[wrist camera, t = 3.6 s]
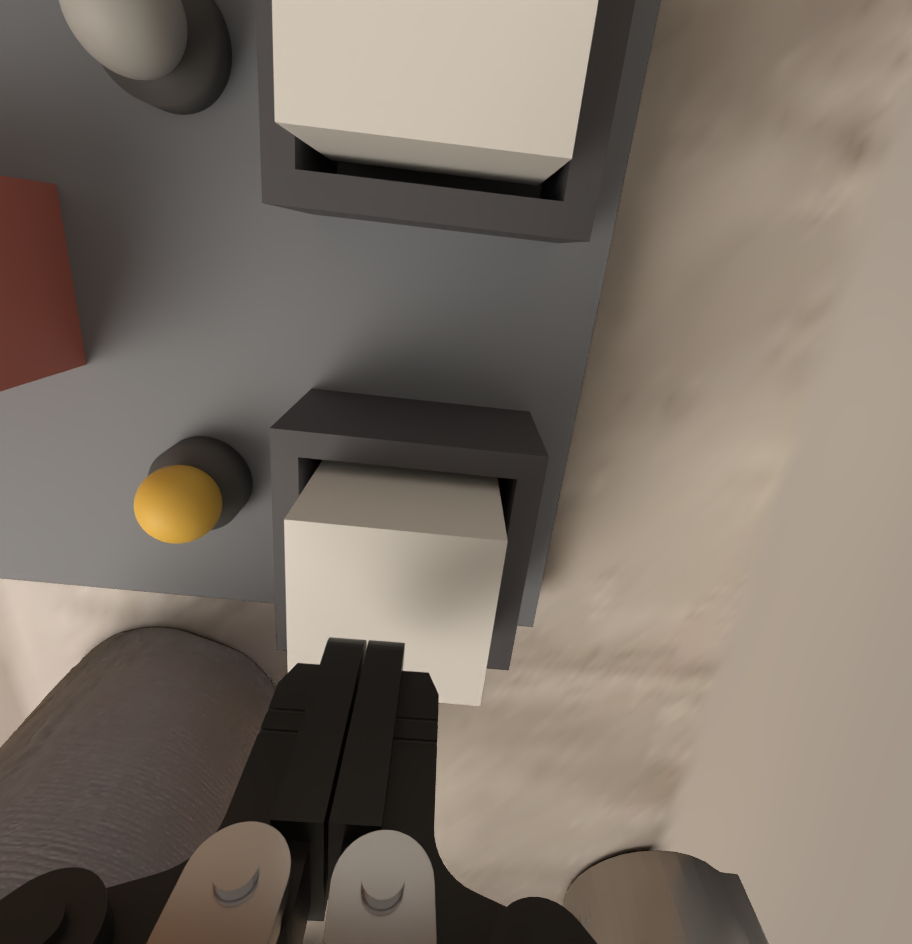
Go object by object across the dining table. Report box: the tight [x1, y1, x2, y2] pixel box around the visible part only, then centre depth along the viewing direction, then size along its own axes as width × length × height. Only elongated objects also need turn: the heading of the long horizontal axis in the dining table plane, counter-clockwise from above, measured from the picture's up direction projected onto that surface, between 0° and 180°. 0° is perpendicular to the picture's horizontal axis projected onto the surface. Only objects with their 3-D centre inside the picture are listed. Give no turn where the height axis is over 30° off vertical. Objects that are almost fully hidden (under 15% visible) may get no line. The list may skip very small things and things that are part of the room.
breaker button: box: [272, 0, 598, 185], centre depth 9 cm, size 5×5×4 cm
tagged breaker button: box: [284, 460, 508, 706], centre depth 14 cm, size 5×5×4 cm
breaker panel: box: [0, 0, 661, 670], centre depth 15 cm, size 22×22×6 cm
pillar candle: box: [0, 627, 275, 900], centre depth 18 cm, size 10×10×15 cm
